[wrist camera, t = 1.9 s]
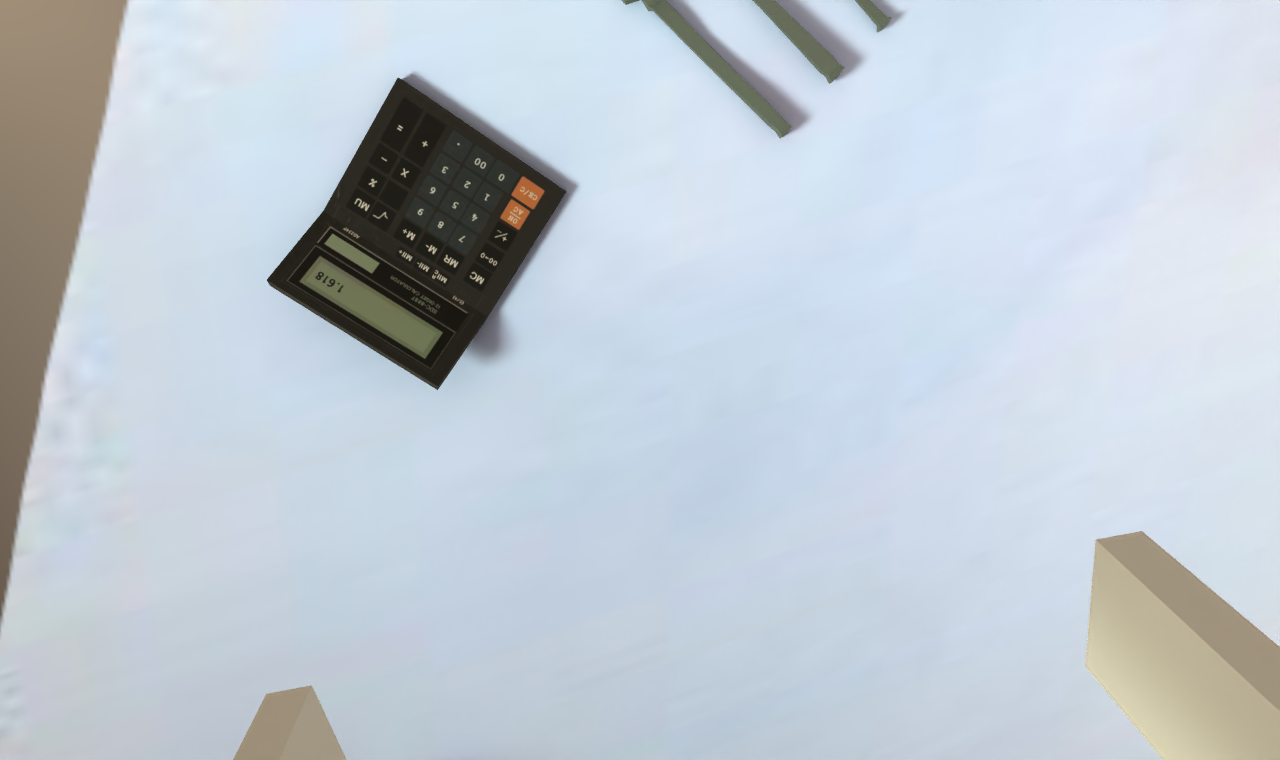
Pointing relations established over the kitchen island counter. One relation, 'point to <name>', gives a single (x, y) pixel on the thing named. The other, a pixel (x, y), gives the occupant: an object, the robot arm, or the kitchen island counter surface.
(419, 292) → the calculator
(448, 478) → the kitchen island counter surface
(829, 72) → the cutlery set
